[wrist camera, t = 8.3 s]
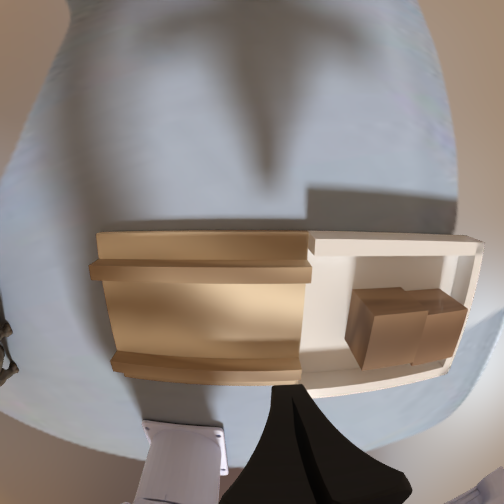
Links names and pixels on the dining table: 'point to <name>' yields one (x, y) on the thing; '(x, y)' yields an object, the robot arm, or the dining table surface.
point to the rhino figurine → (0, 373)
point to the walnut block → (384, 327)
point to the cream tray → (375, 276)
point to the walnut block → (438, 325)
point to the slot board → (205, 304)
